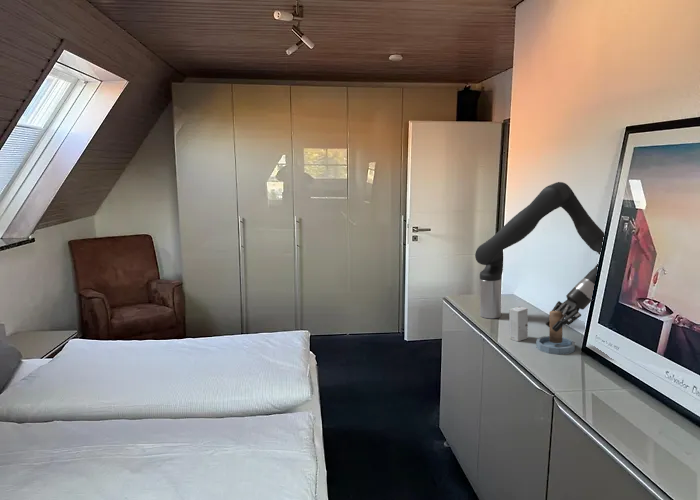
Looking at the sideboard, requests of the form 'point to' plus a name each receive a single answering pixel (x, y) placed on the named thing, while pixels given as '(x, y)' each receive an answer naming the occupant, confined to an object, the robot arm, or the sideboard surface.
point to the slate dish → (555, 345)
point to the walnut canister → (554, 318)
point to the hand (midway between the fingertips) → (550, 327)
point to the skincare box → (518, 323)
